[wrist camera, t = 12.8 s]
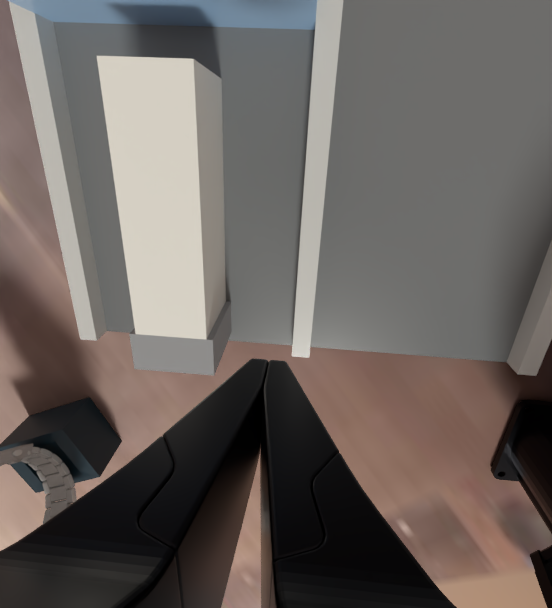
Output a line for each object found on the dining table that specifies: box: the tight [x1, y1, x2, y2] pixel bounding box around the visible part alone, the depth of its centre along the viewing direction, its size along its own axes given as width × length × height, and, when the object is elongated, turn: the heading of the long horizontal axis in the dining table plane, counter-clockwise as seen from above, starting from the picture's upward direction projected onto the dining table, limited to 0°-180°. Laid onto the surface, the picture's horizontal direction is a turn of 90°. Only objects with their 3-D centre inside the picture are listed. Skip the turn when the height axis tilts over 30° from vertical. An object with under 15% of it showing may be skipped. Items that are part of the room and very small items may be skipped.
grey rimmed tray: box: [7, 0, 552, 376], centre depth 17 cm, size 17×26×4 cm, turn 88°
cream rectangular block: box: [97, 56, 231, 375], centre depth 17 cm, size 13×4×4 cm, turn 178°
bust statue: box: [0, 397, 122, 524], centre depth 22 cm, size 6×8×11 cm
